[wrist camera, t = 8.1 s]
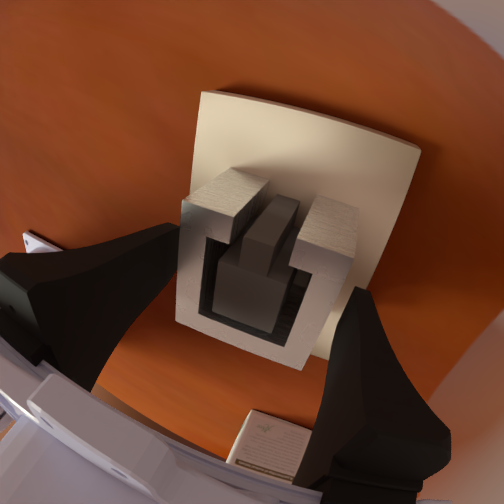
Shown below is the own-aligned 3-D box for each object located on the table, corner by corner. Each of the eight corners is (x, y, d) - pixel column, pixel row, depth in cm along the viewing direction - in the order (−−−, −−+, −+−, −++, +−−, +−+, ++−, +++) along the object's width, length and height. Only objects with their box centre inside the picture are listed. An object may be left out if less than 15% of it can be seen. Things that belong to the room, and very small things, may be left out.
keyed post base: (332, 345, 18) (314, 419, 14) (192, 294, 20) (146, 351, 15) (416, 145, 11) (445, 180, 7) (214, 90, 13) (142, 100, 9)
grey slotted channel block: (318, 309, 15) (301, 370, 12) (214, 271, 16) (175, 320, 13) (359, 208, 12) (354, 258, 9) (230, 167, 13) (182, 200, 10)
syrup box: (250, 406, 24) (175, 560, 12) (316, 430, 23) (261, 588, 11) (239, 432, 27) (176, 558, 15) (296, 452, 26) (245, 581, 14)
